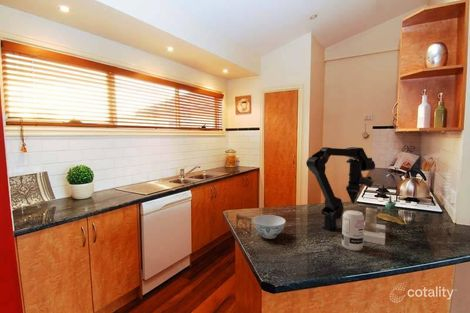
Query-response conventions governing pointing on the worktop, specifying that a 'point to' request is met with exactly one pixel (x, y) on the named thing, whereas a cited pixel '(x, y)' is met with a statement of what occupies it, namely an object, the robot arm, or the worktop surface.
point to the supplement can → (353, 230)
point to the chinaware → (269, 225)
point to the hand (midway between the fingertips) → (354, 200)
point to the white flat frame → (375, 235)
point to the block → (370, 220)
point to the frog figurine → (390, 207)
